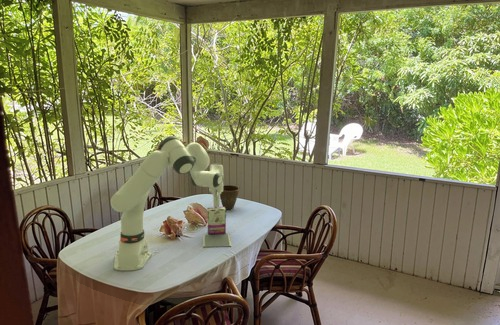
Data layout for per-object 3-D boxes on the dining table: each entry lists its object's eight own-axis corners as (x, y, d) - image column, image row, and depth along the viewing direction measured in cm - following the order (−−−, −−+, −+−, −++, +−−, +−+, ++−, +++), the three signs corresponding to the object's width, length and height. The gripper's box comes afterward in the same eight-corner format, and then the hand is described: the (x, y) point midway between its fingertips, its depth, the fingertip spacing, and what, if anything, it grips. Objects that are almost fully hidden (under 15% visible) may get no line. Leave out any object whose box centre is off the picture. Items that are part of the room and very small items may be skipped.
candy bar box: (224, 230, 224) (225, 206, 220) (225, 234, 219) (226, 209, 215) (207, 231, 221) (207, 207, 217) (207, 235, 216) (208, 210, 212)
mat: (230, 246, 202) (230, 245, 202) (203, 247, 200) (203, 246, 200) (229, 234, 218) (229, 234, 217) (203, 235, 216) (203, 234, 215)
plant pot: (230, 203, 273) (231, 184, 270) (242, 209, 262) (243, 188, 259) (214, 207, 264) (214, 187, 260) (226, 213, 253) (226, 192, 249)
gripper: (222, 193, 212) (221, 214, 215) (220, 183, 232) (220, 203, 235) (211, 193, 211) (211, 214, 214) (211, 183, 231) (210, 203, 234)
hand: (216, 208), depth 225 cm, fingers closed
